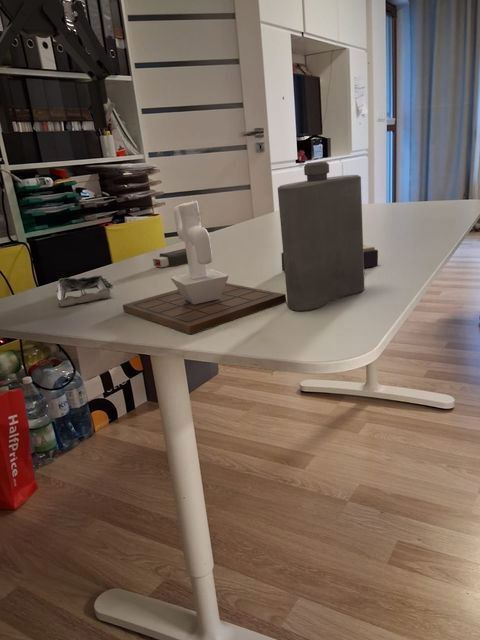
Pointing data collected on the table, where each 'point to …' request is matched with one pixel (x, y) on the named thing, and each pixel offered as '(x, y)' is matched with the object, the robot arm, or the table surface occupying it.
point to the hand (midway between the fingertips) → (57, 130)
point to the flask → (321, 237)
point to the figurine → (196, 258)
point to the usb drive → (171, 258)
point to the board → (203, 308)
